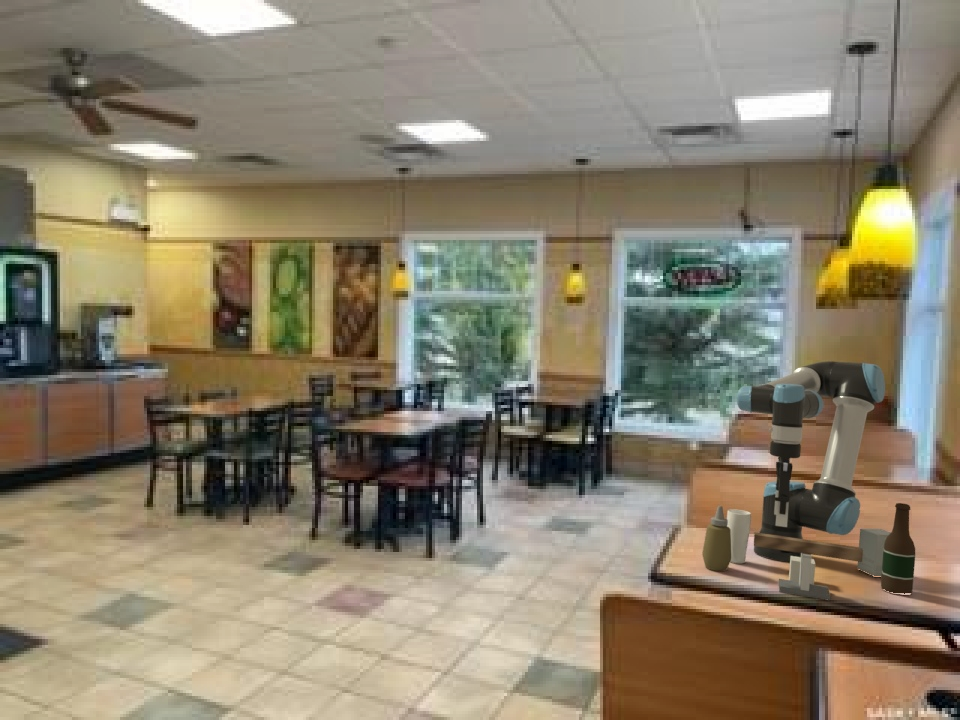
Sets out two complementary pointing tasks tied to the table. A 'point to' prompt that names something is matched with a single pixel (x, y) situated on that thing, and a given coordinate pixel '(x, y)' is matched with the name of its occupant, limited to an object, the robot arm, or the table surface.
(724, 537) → the squeeze bottle
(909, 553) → the beer bottle
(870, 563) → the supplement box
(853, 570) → the table surface
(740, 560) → the drinking glass
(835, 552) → the walnut bar
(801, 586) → the ridge stand
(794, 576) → the block
